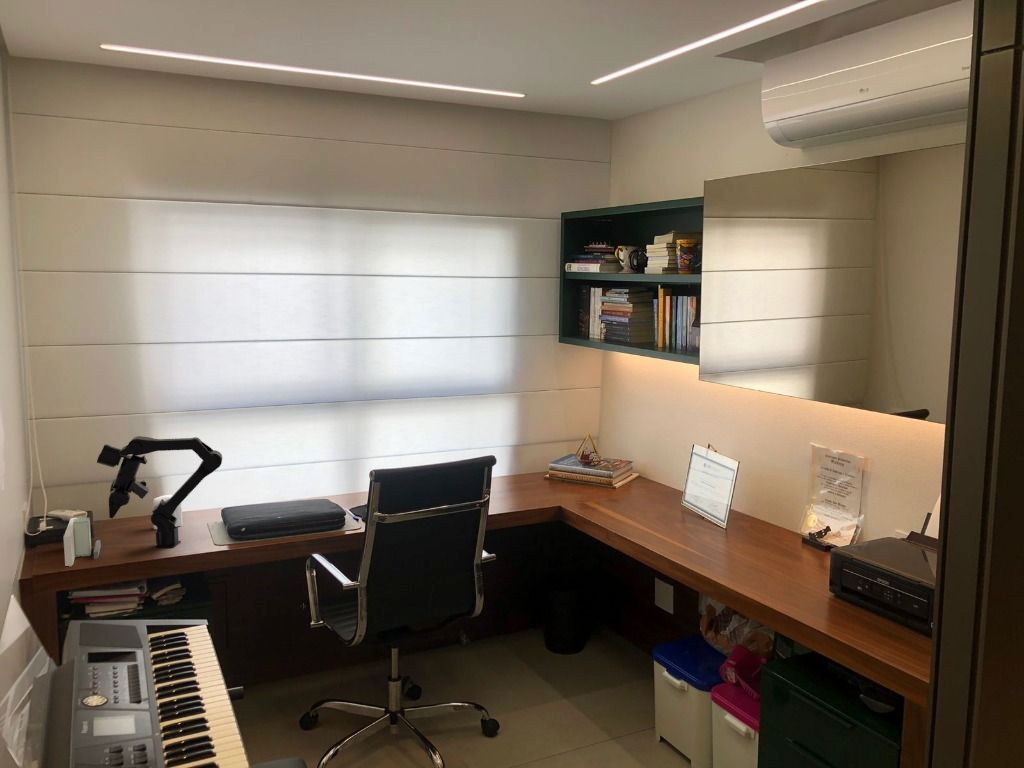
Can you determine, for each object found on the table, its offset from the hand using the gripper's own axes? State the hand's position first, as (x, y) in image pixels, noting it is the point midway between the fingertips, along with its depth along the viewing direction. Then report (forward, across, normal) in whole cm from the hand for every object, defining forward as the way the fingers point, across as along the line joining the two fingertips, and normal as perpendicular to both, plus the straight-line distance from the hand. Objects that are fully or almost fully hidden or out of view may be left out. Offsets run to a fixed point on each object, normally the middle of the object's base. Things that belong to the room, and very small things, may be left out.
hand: (111, 514), depth 285 cm
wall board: (+15, -2, +3) cm, 15 cm away
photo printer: (+6, +22, -22) cm, 31 cm away
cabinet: (+15, -2, +4) cm, 16 cm away
